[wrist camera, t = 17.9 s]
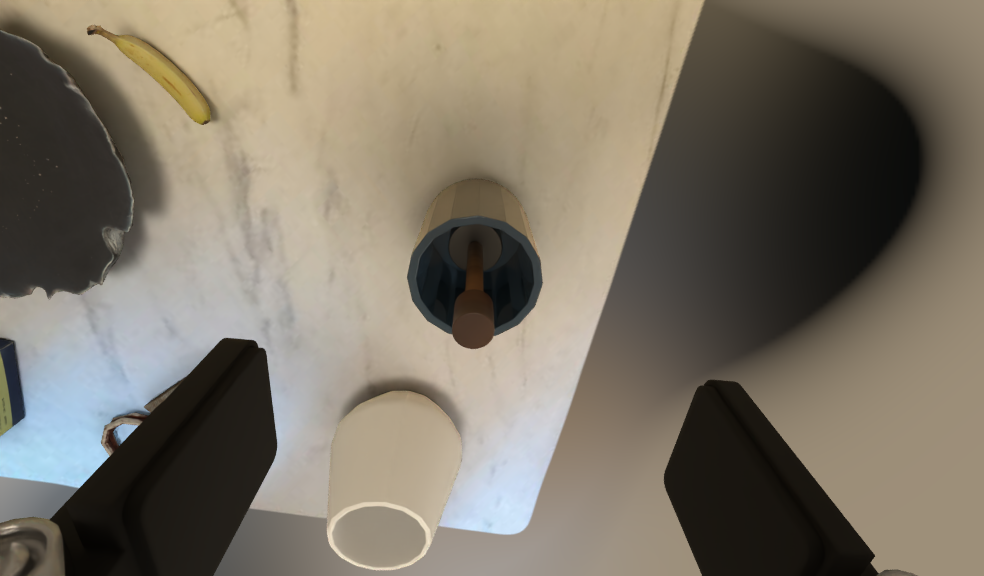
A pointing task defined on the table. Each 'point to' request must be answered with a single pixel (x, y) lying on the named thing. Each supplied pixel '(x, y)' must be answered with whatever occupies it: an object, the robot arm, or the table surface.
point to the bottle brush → (474, 283)
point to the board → (55, 179)
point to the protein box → (9, 388)
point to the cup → (390, 479)
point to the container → (505, 282)
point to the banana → (161, 73)
